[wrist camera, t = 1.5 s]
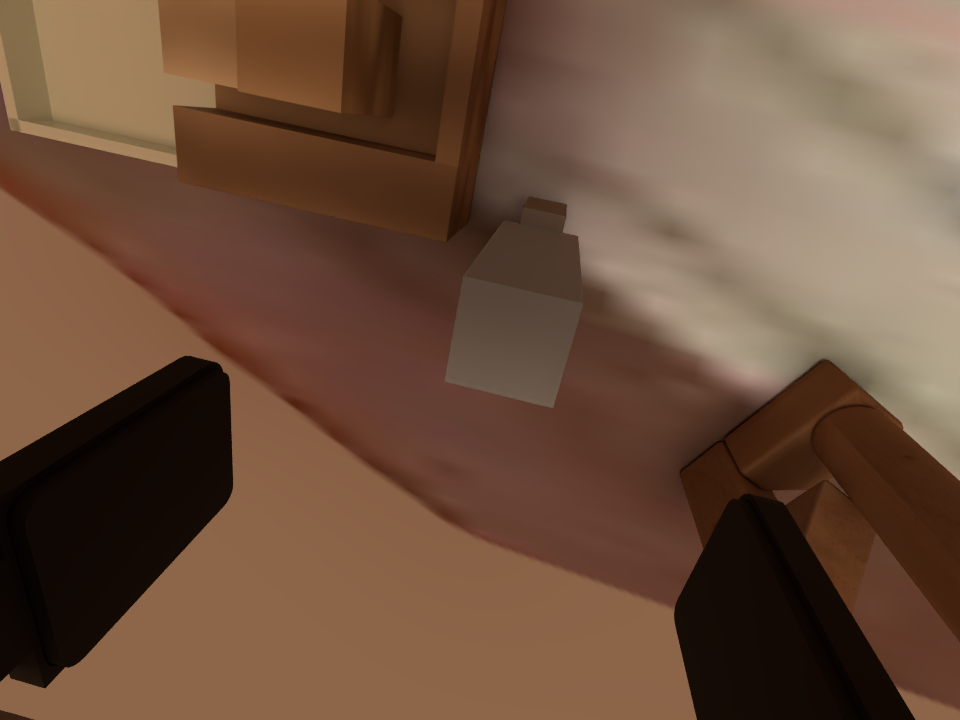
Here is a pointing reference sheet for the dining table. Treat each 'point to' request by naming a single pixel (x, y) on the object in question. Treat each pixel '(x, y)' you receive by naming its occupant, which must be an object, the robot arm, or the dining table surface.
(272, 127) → the groove board
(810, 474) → the tan angled rod fixture
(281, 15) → the oak block
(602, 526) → the dining table surface
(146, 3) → the tray
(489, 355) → the square grey bottle
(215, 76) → the birch block
